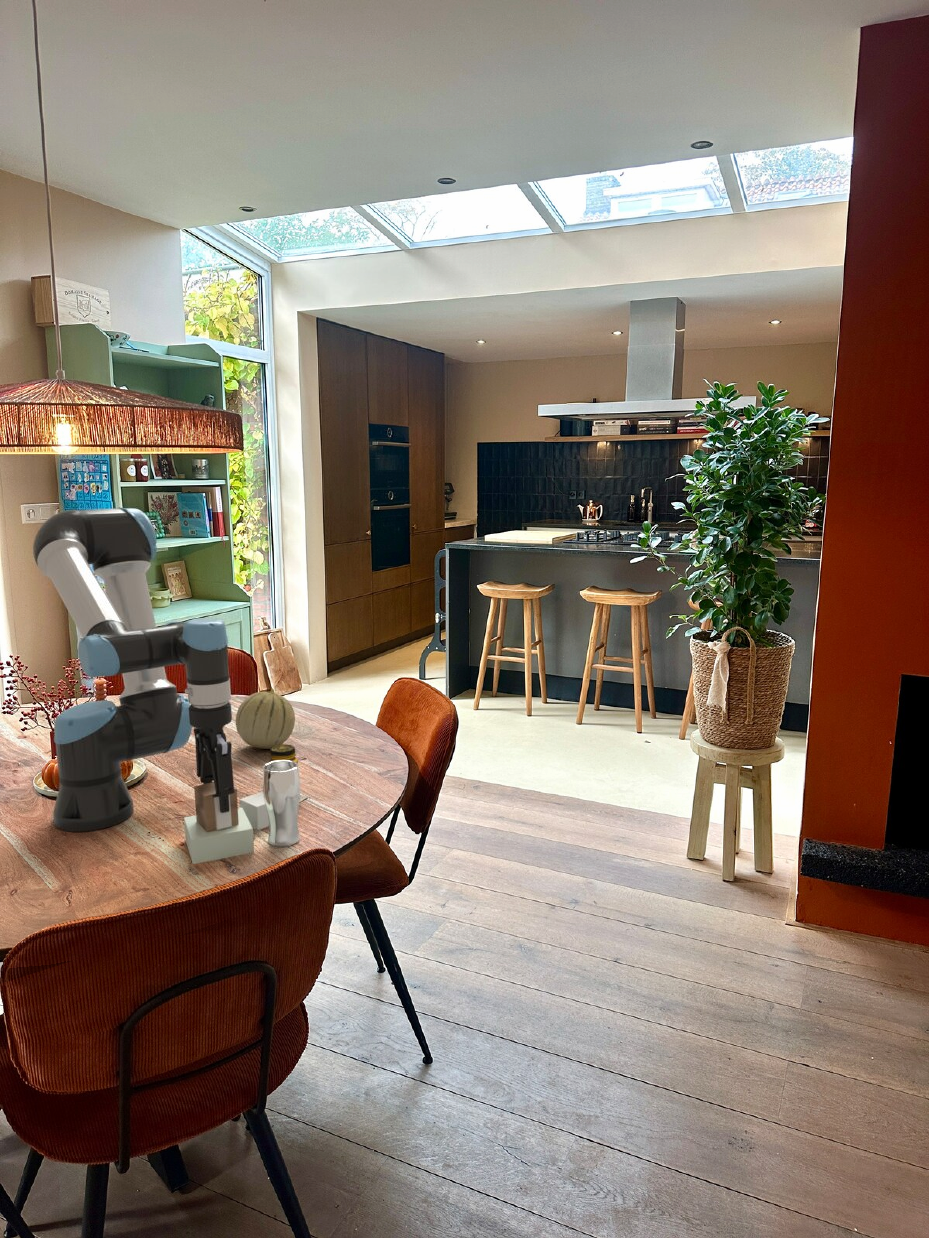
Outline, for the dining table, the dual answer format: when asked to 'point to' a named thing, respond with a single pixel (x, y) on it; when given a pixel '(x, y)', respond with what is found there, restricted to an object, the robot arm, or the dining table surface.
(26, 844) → the dining table surface
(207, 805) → the walnut block
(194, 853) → the pedestal block
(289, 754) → the condiment
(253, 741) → the cantaloupe
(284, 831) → the beer glass
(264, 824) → the grey block
